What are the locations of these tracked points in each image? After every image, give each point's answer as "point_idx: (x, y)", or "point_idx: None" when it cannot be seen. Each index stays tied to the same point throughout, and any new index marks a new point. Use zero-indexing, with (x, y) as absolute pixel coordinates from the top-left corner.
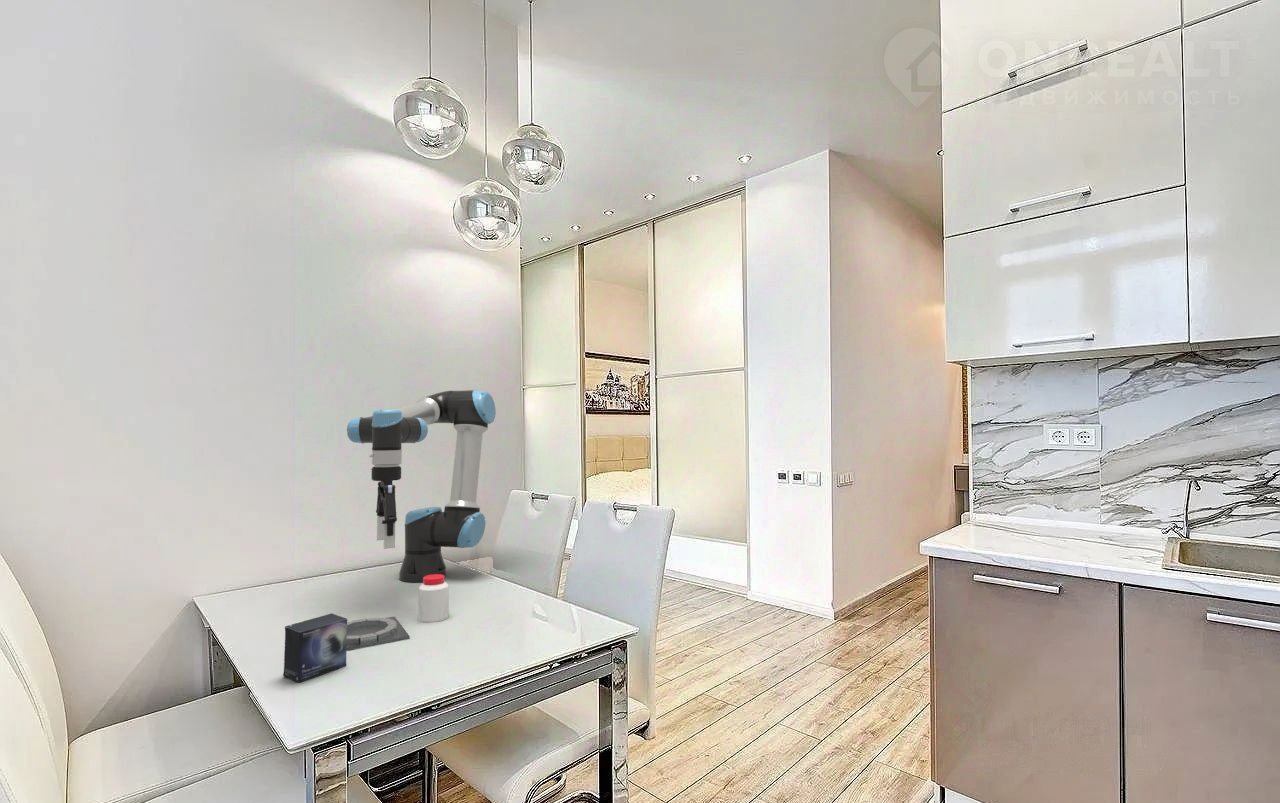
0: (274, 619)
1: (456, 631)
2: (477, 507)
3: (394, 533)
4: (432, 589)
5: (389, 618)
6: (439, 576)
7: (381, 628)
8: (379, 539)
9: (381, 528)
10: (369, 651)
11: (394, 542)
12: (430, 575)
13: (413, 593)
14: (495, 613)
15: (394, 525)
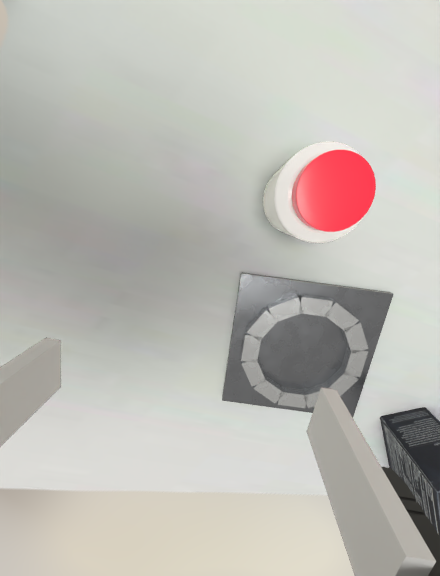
0: (98, 432)
1: (433, 197)
2: None
3: (374, 463)
4: (363, 216)
5: (248, 287)
6: (350, 173)
7: (302, 320)
8: (57, 379)
9: (7, 417)
10: (393, 365)
11: (347, 413)
12: (308, 195)
13: (56, 161)
14: (393, 39)
15: (417, 536)
